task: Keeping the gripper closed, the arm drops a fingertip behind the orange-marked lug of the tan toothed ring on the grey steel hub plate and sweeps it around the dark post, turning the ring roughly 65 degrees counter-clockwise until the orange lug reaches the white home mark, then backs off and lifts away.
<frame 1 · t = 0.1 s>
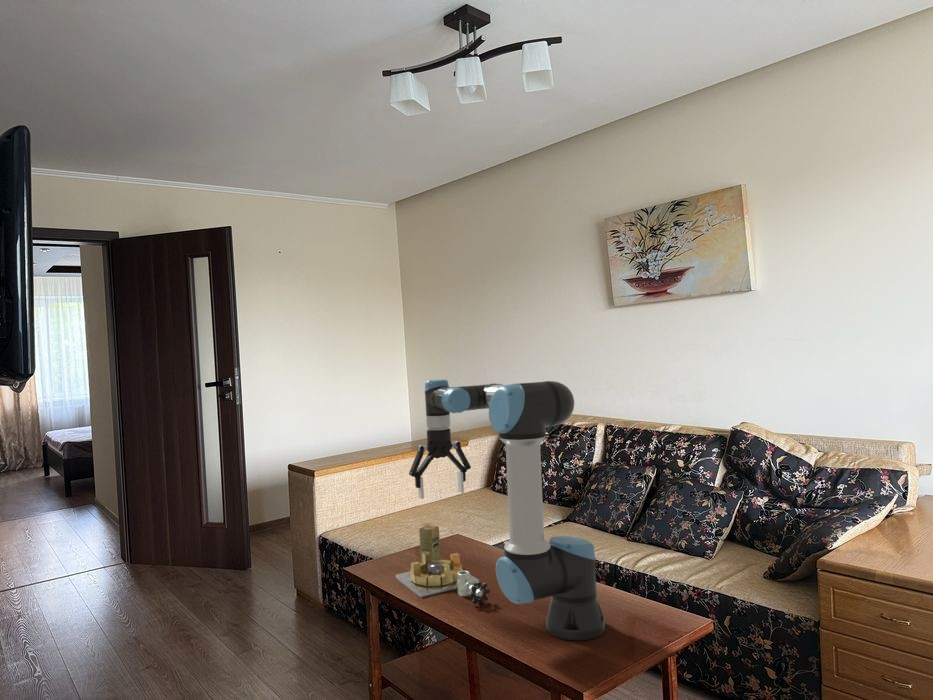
hand: (441, 495, 204), 28 cm above the table, fingers open, 13 cm apart
tan toothed ring: (435, 567, 206), point 4 cm above the table, hinge at 0.0°
shoe polish box: (430, 562, 224), on the table
hub plate: (436, 580, 206), on the table
valve: (470, 599, 190), on the table
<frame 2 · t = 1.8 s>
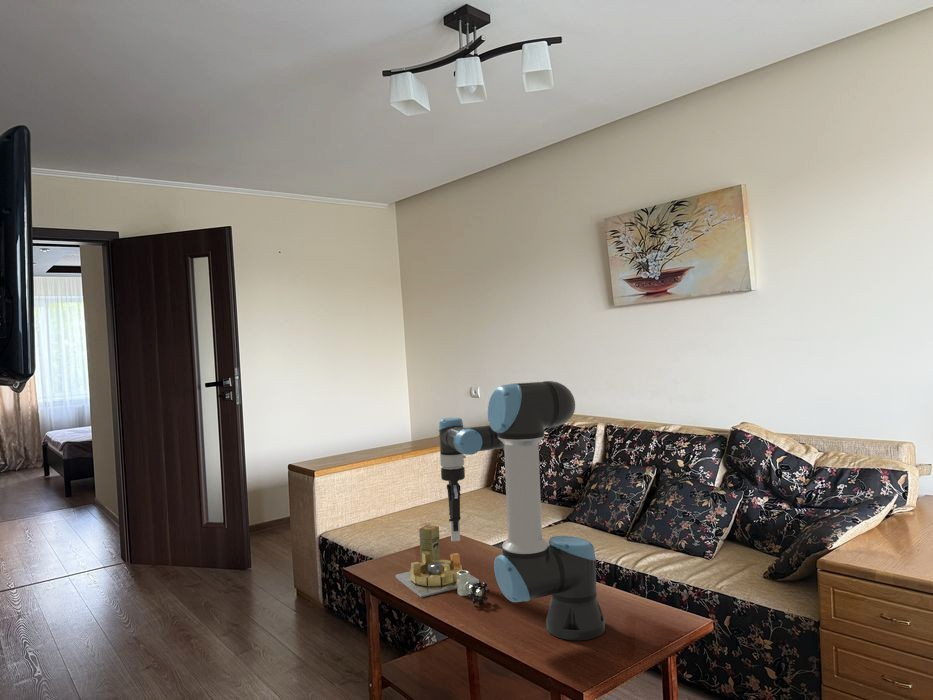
hand: (455, 540, 205), 13 cm above the table, fingers closed
nothing on the table moved.
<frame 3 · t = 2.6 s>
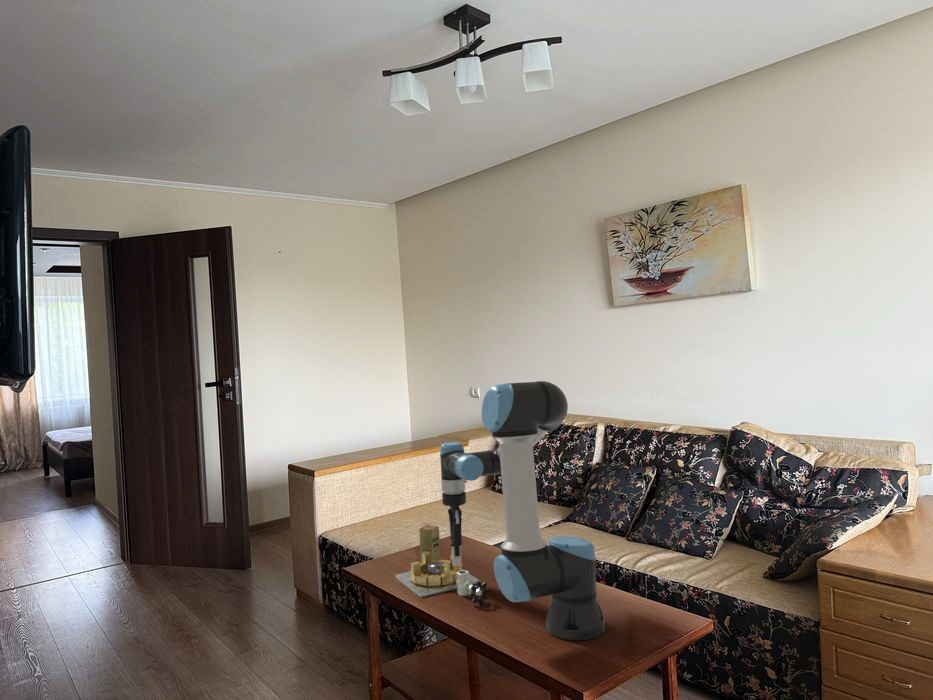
hand: (457, 565, 204), 5 cm above the table, fingers closed
nothing on the table moved.
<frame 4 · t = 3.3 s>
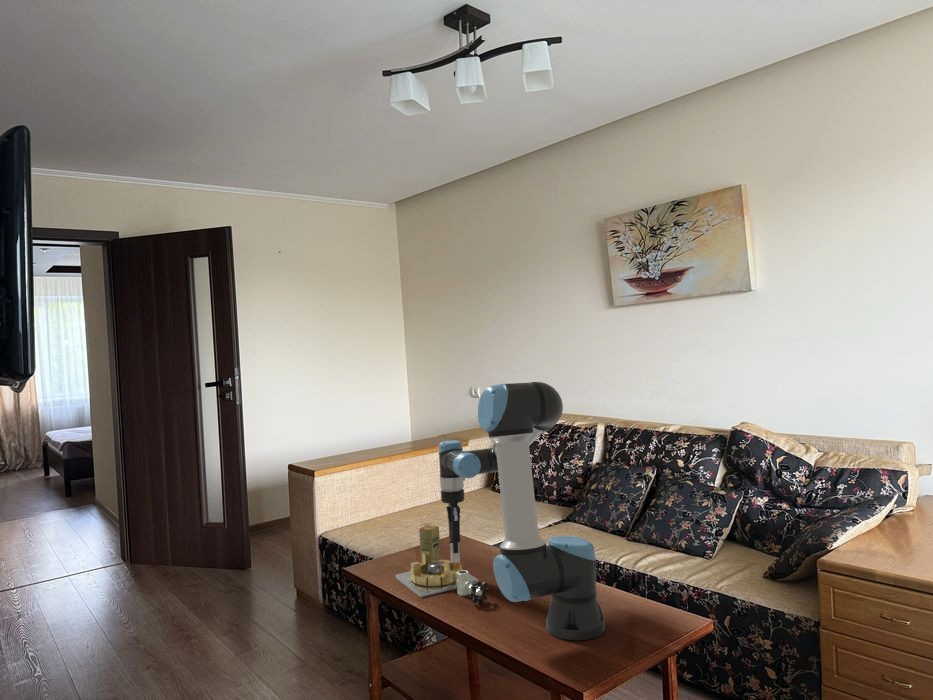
hand: (455, 561, 207), 5 cm above the table, fingers closed
tan toothed ring: (435, 567, 206), point 4 cm above the table, hinge at 0.0°, touching gripper
everything else where it was.
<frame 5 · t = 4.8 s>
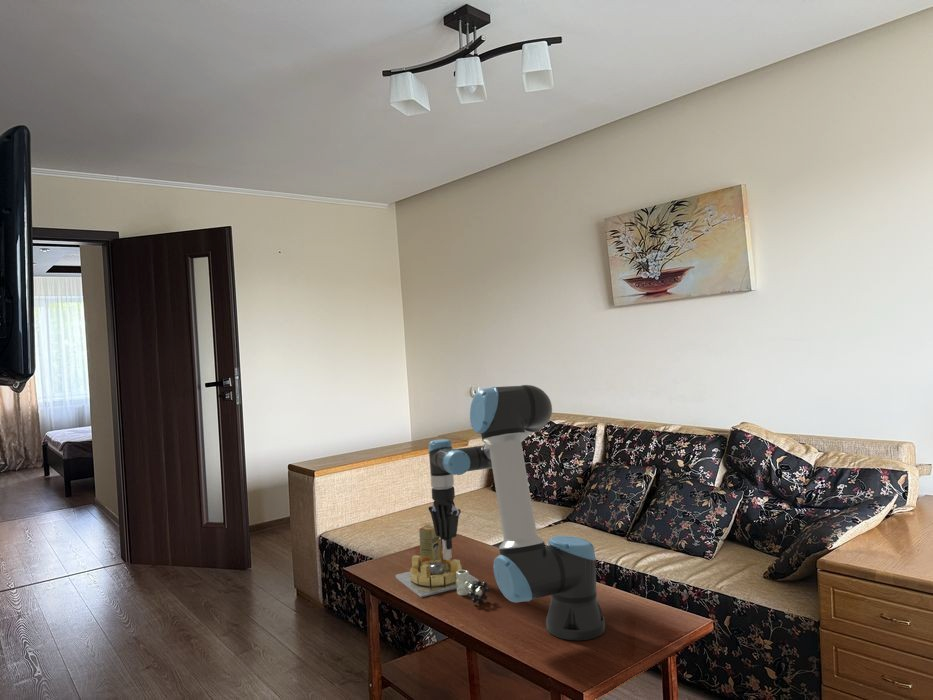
hand: (447, 558, 211), 5 cm above the table, fingers closed
tan toothed ring: (435, 567, 206), point 4 cm above the table, hinge at 37.0°, touching gripper
everything else where it was.
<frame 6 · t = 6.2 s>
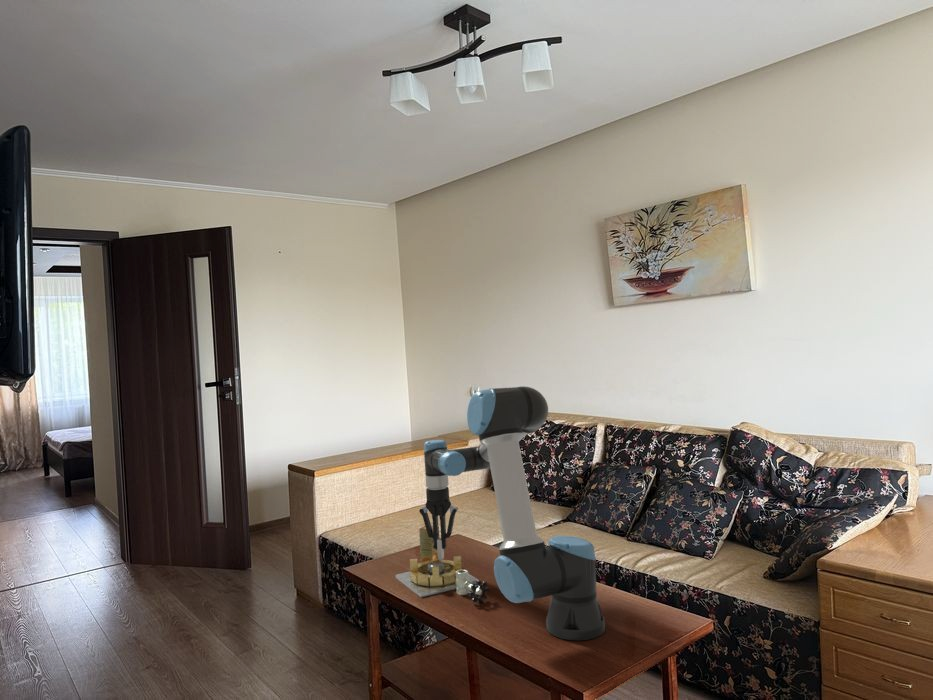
hand: (441, 558, 212), 5 cm above the table, fingers closed
tan toothed ring: (435, 567, 206), point 4 cm above the table, hinge at 64.1°, touching gripper
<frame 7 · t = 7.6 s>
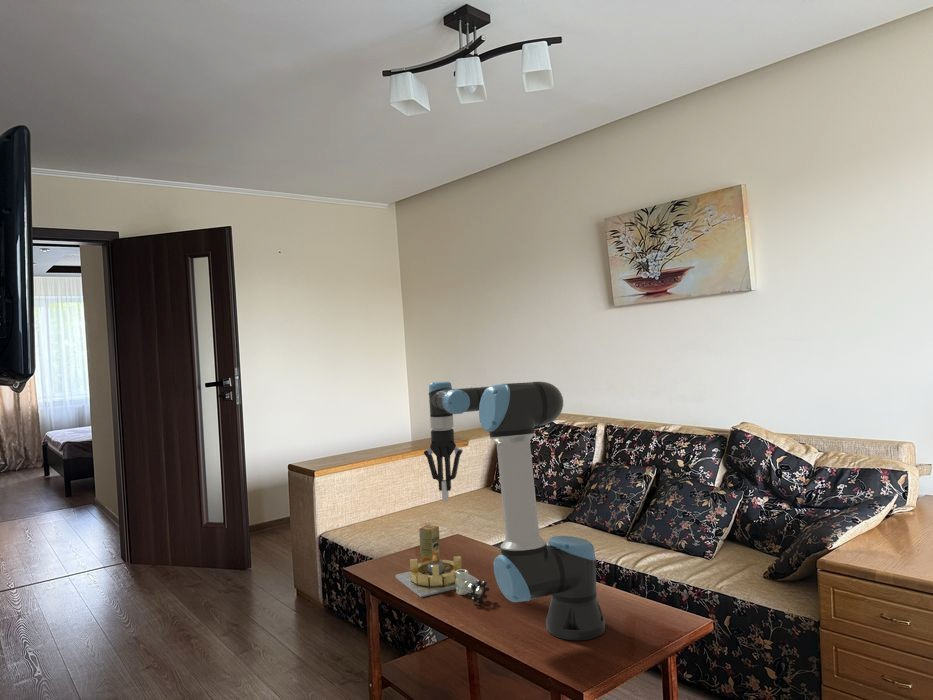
hand: (445, 500, 211), 24 cm above the table, fingers closed
tan toothed ring: (435, 567, 206), point 4 cm above the table, hinge at 64.1°
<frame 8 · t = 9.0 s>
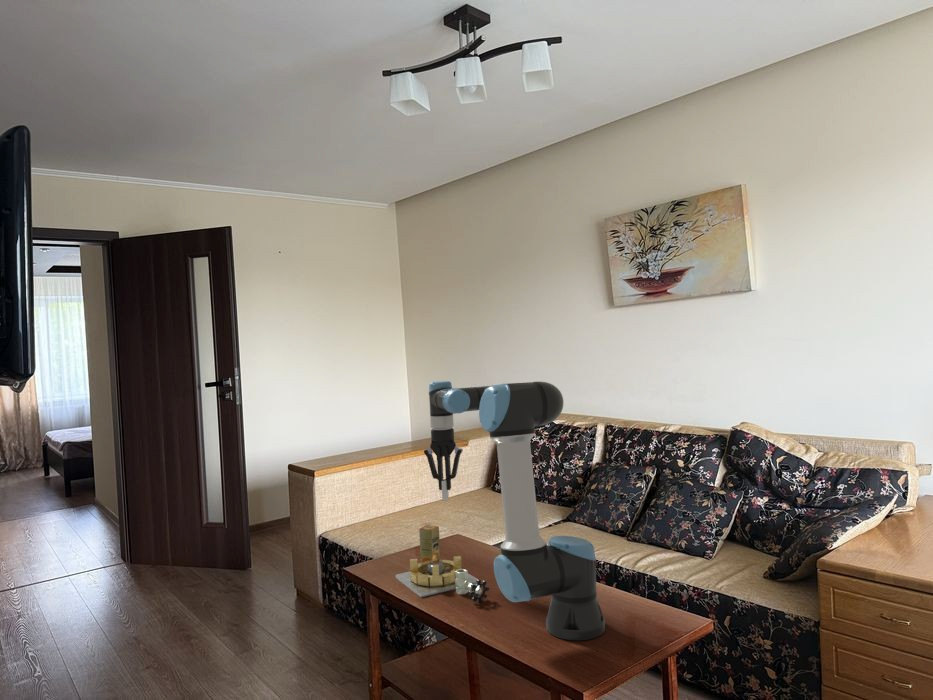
hand: (445, 499, 211), 24 cm above the table, fingers closed
at the end: tan toothed ring at +64° (first picture: +0°) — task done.
